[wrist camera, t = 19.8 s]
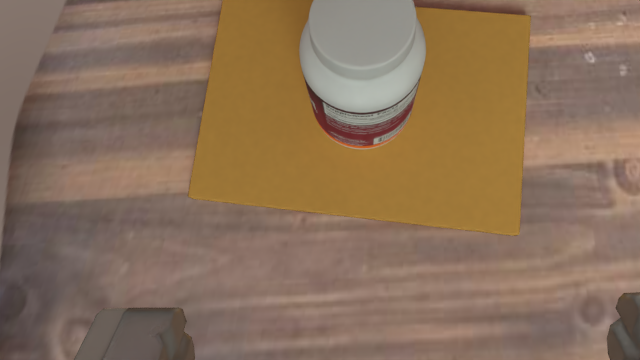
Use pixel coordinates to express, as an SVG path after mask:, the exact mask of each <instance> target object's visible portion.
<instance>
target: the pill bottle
mask: <svg viewBox="0 0 640 360" xmlns="http://www.w3.org/2000/svg"><path fill="white" fill-rule="evenodd" d="M299 55H300V63H301V68H302V72H303V75H304V79H305V83H306V86H307V90H308V94H309V97H310V101H311V104H312V108H313V112H314V115H315V118H316V120H317V122H318V124H319V126H320V127H321V129H322V130H323V131H324V133H325V134H326V135H327V136H328V137H330V138H331V139H332V140H333V141H335V142H337V143H338V144H340V145H343V146H345V147H349V148H353V149H371V148H376V147H379V146H382V145H384V144H386V143H388V142H390V141H391V140H393V139H394V138H395V137H396V136H397V135H398V134H400V132H401V131H402V130H403V129H404V127H405V126H406V124H407V122H408V120H409V118H410V116H411V113H412V108H413V105H414V101H415V97H416V93H417V89H418V85H419V82H420V78H421V74H422V71H423V67H424V62H425V57H426V42H425V36H424V32H423V29H422V27H421V24H420V22H419V20H418V19H417V15H416V9H415V5H414V3H413V0H313V2H312V5H311V8H310V11H309V18H308V21H307V23H306V25H305V27H304V29H303V32H302V35H301V39H300V46H299Z"/></svg>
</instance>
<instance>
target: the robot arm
mask: <svg viewBox="0 0 640 360" xmlns="http://www.w3.org/2000/svg"><path fill="white" fill-rule="evenodd" d="M616 310H617V312H618V313H619V315H620V318H619V319H618V320H617V321H615V322H614V323H613V324H611V325H610V328H609V332H608V336H607V346H608V355H609V358H610V360H640V292H635V293H624V294H623V295H622V296H621V297H620V298H619V299H618V302H617V305H616ZM186 322H187V321H186V318H185V315H184V312H183V309H181V308H115V309H102V310H101V311H100V312H99V313H98V314H97V315H96V317H95V319H94V321H93V323H92V325H91V327H90V329H89V331H88V333H87V335H86V337H85V339H84V341H83V343H82V345H81V347H80V349H79V351H78V353H77V355H76V357H75V359H74V360H195V352H194V345H193V341H192V338H191V337H190V336H189V335H188V334H187V333H185V332H184V328H185V325H186Z"/></svg>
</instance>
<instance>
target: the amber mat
mask: <svg viewBox="0 0 640 360" xmlns="http://www.w3.org/2000/svg"><path fill="white" fill-rule="evenodd" d="M312 2H313V0H223V2H222V8H221V13H220V19H219V24H218V30H217V36H216V41H215V47H214V52H213V58H212V64H211V69H210V75H209V80H208V86H207V92H206V97H205V103H204V109H203V114H202V120H201V125H200V131H199V137H198V142H197V148H196V153H195V159H194V165H193V170H192V176H191V181H190V187H189V193H188V197H190V198H192V199H199V200H208V201H216V202H225V203H234V204H242V205H251V206H260V207H269V208H277V209H286V210H295V211H303V212H312V213H321V214H330V215H338V216H347V217H356V218H364V219H373V220H382V221H390V222H399V223H408V224H417V225H425V226H434V227H443V228H451V229H460V230H469V231H477V232H486V233H495V234H504V235H512V236H516V235H519V232H520V212H521V193H522V174H523V155H524V136H525V117H526V98H527V79H528V59H529V40H530V21H531V16H529V15H516V14H502V13H489V12H476V11H463V10H450V9H437V8H424V7H415V9H416V15H417V19H418V20H419V22H420V24H421V27H422V29H423V32H424V36H425V42H426V57H425V62H424V67H423V71H422V74H421V78H420V82H419V85H418V89H417V93H416V97H415V101H414V105H413V108H412V113H411V116H410V118H409V120H408V122H407V124H406V126H405V127H404V129H403V130H402V131H401V132H400V134H398V135H397V136H396V137H395V138H394V139H393V140H391V141H390V142H388V143H386V144H384V145H382V146H379V147H376V148H371V149H353V148H349V147H345V146H343V145H340V144H338V143H337V142H335V141H333V140H332V139H331V138H330V137H328V136H327V135H326V134H325V133H324V131H323V130H322V129H321V127H320V126H319V124H318V122H317V120H316V118H315V115H314V112H313V108H312V104H311V101H310V97H309V94H308V90H307V86H306V83H305V79H304V75H303V72H302V68H301V63H300V55H299V46H300V39H301V35H302V32H303V29H304V27H305V25H306V23H307V21H308V18H309V11H310V8H311V5H312Z"/></svg>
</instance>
